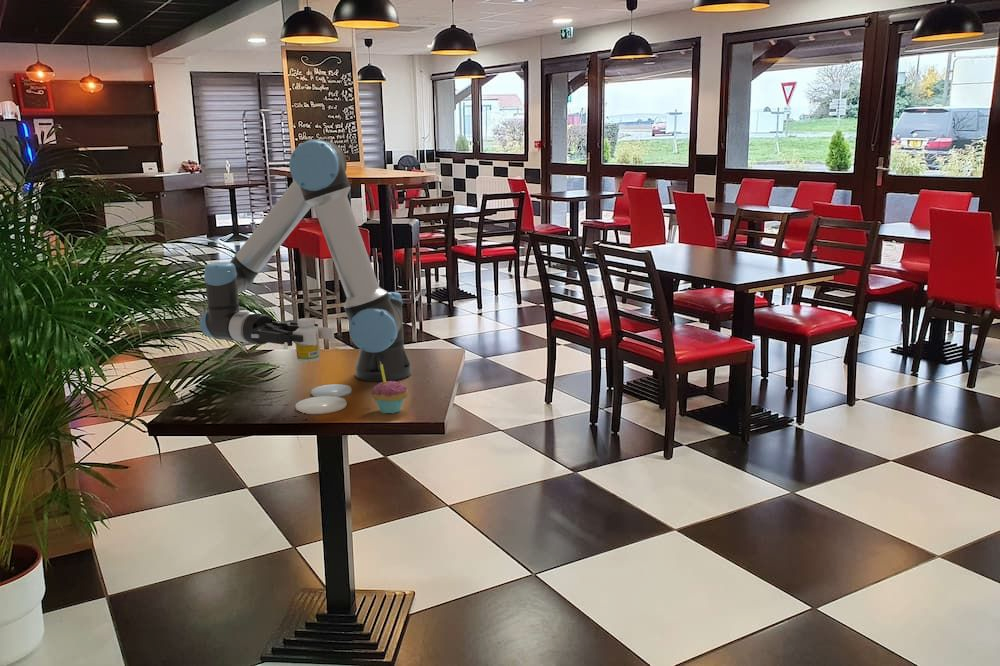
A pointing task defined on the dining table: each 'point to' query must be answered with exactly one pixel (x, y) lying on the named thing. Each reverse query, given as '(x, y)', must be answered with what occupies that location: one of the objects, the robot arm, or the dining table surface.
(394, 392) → the cupcake
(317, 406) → the cream coaster
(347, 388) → the grey coaster
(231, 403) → the dining table surface
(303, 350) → the supplement bottle
